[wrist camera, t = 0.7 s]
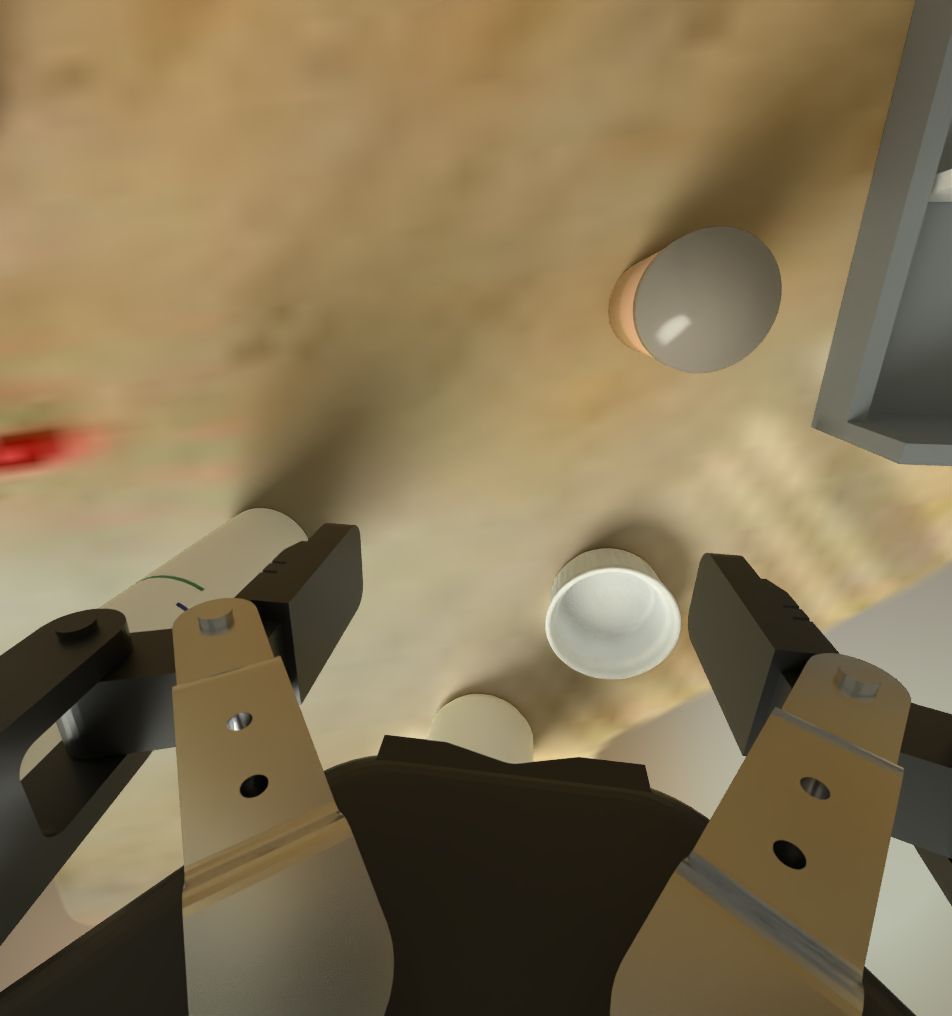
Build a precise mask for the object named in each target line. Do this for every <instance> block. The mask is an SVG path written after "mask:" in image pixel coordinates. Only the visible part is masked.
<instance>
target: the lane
mask: <svg viewBox="0 0 952 1016" xmlns="http://www.w3.org/2000/svg"><path fill="white" fill-rule="evenodd" d="M950 169H952V0H916V2H915V6H914V10H913V14H912V18H911V22H910V27H909V31H908V35H907V39H906V43H905V47H904V51H903V55H902V59H901V63H900V67H899V71H898V75H897V80H896V84H895V88H894V92H893V96H892V100H891V104H890V108H889V112H888V116H887V120H886V124H885V129H884V133H883V137H882V141H881V145H880V149H879V153H878V157H877V161H876V165H875V169H874V173H873V177H872V182H871V186H870V190H869V194H868V198H867V202H866V206H865V210H864V214H863V218H862V222H861V226H860V230H859V235H858V239H857V243H856V247H855V251H854V255H853V259H852V263H851V267H850V271H849V275H848V279H847V284H846V288H845V292H844V296H843V300H842V304H841V308H840V312H839V316H838V320H837V324H836V328H835V332H834V337H833V341H832V345H831V349H830V353H829V357H828V361H827V365H826V369H825V373H824V377H823V381H822V385H821V390H820V394H819V398H818V402H817V406H816V410H815V414H814V418H813V422H812V426H811V427H813V428H815V429H817V430H820V431H822V432H825V433H827V434H829V435H832V436H834V437H836V438H839V439H841V440H844V441H846V442H848V443H851V444H853V445H855V446H858V447H860V448H862V449H865V450H867V451H870V452H872V453H874V454H877V455H879V456H881V457H884V458H886V459H889V460H891V461H893V462H896V463H898V464H911V465H938V466H952V202H928V201H929V197H930V194H931V190H932V186H933V183H934V179H935V176H936V174H938V173H941V172H944V171H947V170H950Z"/></svg>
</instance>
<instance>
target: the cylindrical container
mask: <svg viewBox="0 0 952 1016" xmlns="http://www.w3.org/2000/svg"><path fill="white" fill-rule="evenodd" d="M300 541H308V537H307V536H306V534H305V533H304V531H303V530H302V528H301V527H300V526H299V525H298V524H297V523H296V522H295V521H293V520H292V519H291V518H290V517H288V516H286V515H284V514H283V513H281V512H278V511H275V510H272V509H266V508H253V509H249V510H246V511H244V512H242V513H240V514H238V515H237V516H235V517H234V518H232V519H231V520H229V521H228V522H226V523H225V524H223V525H222V526H220V527H219V528H217V529H216V530H214V531H213V532H211V533H210V534H208V535H207V536H205V537H204V538H202V539H201V540H199V541H198V542H196V543H195V544H193V545H192V546H190V547H189V548H187V549H186V550H184V551H183V552H182V553H180V554H179V555H177V556H176V557H174V558H173V559H171V560H170V561H168V562H167V563H165V564H164V565H162V566H161V567H159V568H158V569H156V570H155V571H153V572H152V573H150V574H149V575H147V576H146V577H144V578H143V579H141V580H140V581H138V582H137V583H136V584H134V585H132V586H131V587H129V588H128V589H126V590H125V591H123V592H122V593H120V594H119V595H117V596H116V597H115V598H113V599H112V600H110V601H109V602H107V603H106V604H104V605H103V606H101V607H100V608H98V609H114V610H118V611H120V612H122V613H123V614H124V615H125V617H126V620H127V624H128V628H129V632H130V633H133V632H143V631H152V630H162V629H171V628H172V627H173V624H174V621H175V620H176V619H177V618H178V617H179V616H180V615H181V614H182V613H183V612H185V611H186V610H188V609H190V608H191V607H194V606H196V605H198V604H201V603H204V602H207V601H211V600H215V599H221V598H234V597H235V596H236V595H237V594H238V593H239V592H240V591H241V590H242V589H243V588H244V587H245V586H247V585H248V584H249V583H250V582H251V581H252V580H253V579H254V578H255V577H256V576H257V575H258V574H259V573H260V572H261V573H262V571H263V569H264V568H265V567H266V566H267V565H268V564H269V563H272V560H273V559H274V558H275V557H277V556H278V555H279V554H280V553H281V552H282V551H283V550H284V549H286V548H288V547H290V546H292V545H294V544H296V543H298V542H300ZM61 740H62V738H61V735H60V733H59V730H58V727H57V724H56V722H55V723H54V724H53V725H52V726H51V727H50V728H49V729H48V730H47V731H46V732H45V733H44V734H42V735H41V736H40V737H39V738H38V739H37V740H36V741H35V742H34V743H33V744H32V745H31V747H30V748H29V749H28V751H27V752H26V754H25V756H24V758H23V760H22V763H21V767H20V773H19V775H20V781H21V780H22V779H23V778H24V777H25V776H26V775H27V774H28V773H29V772H30V771H31V770H32V769H33V768H34V767H35V766H36V765H37V764H38V763H39V762H40V761H41V760H42V759H43V758H44V757H45V756H46V755H47V754H48V753H49V752H50V751H51V750H52V749H53V748H54V747H55V746H56V745H57V744H58V743H59V742H60V741H61ZM153 752H154V750H153V751H152V753H153ZM152 753H151V754H152ZM151 754H150V755H151ZM150 755H149V756H150ZM146 760H147V759H146Z"/></svg>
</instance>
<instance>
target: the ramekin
mask: <svg viewBox="0 0 952 1016" xmlns="http://www.w3.org/2000/svg"><path fill="white" fill-rule="evenodd" d="M545 628H546V635H547V638H548V641H549V643H550V646H551V647H552V649H553V651H554V652H555V653H556V655H557V656H558V657H559V658H560V659H561V660H562V661H563V662H564V663H565V664H566V665H568V666H569V667H571V668H572V669H574V670H575V671H578V672H580V673H582V674H585V675H588V676H590V677H595V678H600V679H624V678H630V677H634V676H637V675H640V674H642V673H644V672H647V671H648V670H650V669H652V668H654V667H655V666H657V665H658V664H659V663H661V662H662V661H663V660H664V659H665V658H666V657H667V656H668V655H669V654H670V652H671V651H672V650H673V648H674V647H675V645H676V643H677V641H678V638H679V635H680V630H681V615H680V611H679V607H678V605H677V602H676V600H675V598H674V597H673V595H672V594H671V592H670V591H669V590H668V589H667V587H666V586H665V585H664V584H663V583H662V582H661V581H660V579H659V578H658V576H657V575H656V573H655V572H654V571H653V569H652V568H651V567H650V565H648V564H647V563H646V562H645V561H644V560H643V559H641V558H640V557H638V556H636V555H634V554H632V553H630V552H627V551H624V550H619V549H612V548H602V549H595V550H591V551H587V552H584V553H582V554H580V555H578V556H577V557H575V558H574V559H572V560H571V561H570V562H568V563H567V564H566V565H565V566H564V567H563V568H562V569H561V570H560V572H559V573H558V574H557V576H556V578H555V580H554V582H553V586H552V589H551V595H550V604H549V606H548V610H547V614H546V621H545Z"/></svg>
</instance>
